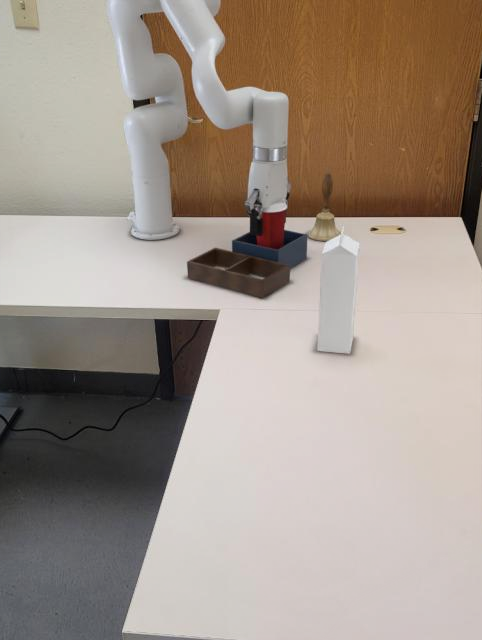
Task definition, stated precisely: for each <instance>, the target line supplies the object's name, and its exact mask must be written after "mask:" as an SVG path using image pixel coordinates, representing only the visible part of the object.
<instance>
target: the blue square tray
mask: <svg viewBox="0 0 482 640" xmlns="http://www.w3.org/2000/svg"><path fill="white" fill-rule="evenodd" d="M308 237H309V236H308V233H301V232H298V231H297V232H296V231H293V230H289V229H284V241H283V247H282V248H280V249H278V250H276V249H272V248H267V247H263V246H258V245H257V235H253V234H250V231H248V232H246V233H244V234H242V235H240V236H238V237H236V238H234V239H232V240H231V251H232V252H237V253H241V254H245V255H249V256H254V257H258V258H262V259H266V260H271V261H275V262H279V263H284V264H288V265H290V270H291V269H292V268H294V267H296V266H297V265H298V264H300V263H302V262H304V261H305V260H308V259H307V258H308Z"/></svg>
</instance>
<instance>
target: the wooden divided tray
mask: <svg viewBox="0 0 482 640" xmlns="http://www.w3.org/2000/svg"><path fill="white" fill-rule="evenodd" d="M215 266H219V267H222V268H219V267H215ZM186 268H187V269H186V270H187V279H189V280H194V281H197V282H200V283H205V284H208V285H212V286H215V287H219V288H222V289H227V290H231V291H234V292H238V293H242V294H245V295H249V296H252V297H256V298H259V299H260V298H261V299H265V298H266V297H268V296H269V295H271V294H273V293H275V292H276V291H277V290H279V289H282V287H284V286H286V285H287V284H289V283H290V281H291V280H290V279H291V269H290V265H288V264H284V263H279V262H275V261H271V260H266V259H262V258H258V257H254V256H249V255H245V254H241V253H237V252H232V250H227V249H223V248H219V247H213V248H211V249H209V250H207V251H205V252H202V253H201V254H199V255H196V256H195V257H193V258H191V259H189V260H188V261H186ZM223 268H225V269H223ZM250 275H251V276H250ZM252 275H254V276H259V277H263V278H258V277H254V276H252Z"/></svg>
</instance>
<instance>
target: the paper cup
mask: <svg viewBox="0 0 482 640" xmlns="http://www.w3.org/2000/svg"><path fill="white" fill-rule="evenodd" d="M257 204H261V203H257ZM261 205H262V204H261ZM287 209H288V205H286V203H285V200H284V199H283V200H281V201H279V202H276V203H274V204H272V205H270V206H269V207H268V208H266V209H264V212H263V214H262V217H261V218H263V235H262V236H258V235H257V245H258V246H263V247H267V248H272V249H276V250H278V249H280V248H282V247H283V241H284V230H285V228H286V227H285V226H286V223H285V214H286V215H287ZM256 211H257V212H258V211H259V208H256Z"/></svg>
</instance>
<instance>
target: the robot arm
mask: <svg viewBox="0 0 482 640" xmlns="http://www.w3.org/2000/svg"><path fill="white" fill-rule="evenodd" d="M221 1H222V0H105V9H106V14H107V19H108V22H109V25H110V29H111V31H112V35H113V39H114V45H115V51H116V52H115V53H116V57H117V63H118V68H119V75H120V80H121V84H122V89H123V92H124V93H125V95H126V97H127V98H128V99H131V100H132V101H143V100H148V99H153V98H154V101H155V102H154V103H149V104H145V105H140V106H137V107H135V108H133V109H131V110H130V111H128V113H127V114H126V115H125V117H124V119H123V123H122V131H123V134H124V138H125V142H126V145H127V149H128V154H129V160H130V161H129V162H130V171H131V178H132V179H131V180H132V189H133V201H134V210H135V211H134V210H132V211H130V212H129V215H127V216H126V220H127V221H129V222H133V226H132V227H131V229H130V232H131V233H130V234H131V235H132V236H133V237H135V238H136V239H140V240H145V241H146V240H147V241H156V240H164V239H169V238H172V237H174V236H176V235H177V234H178V233H179V232H180V227H179V224H177V223H176V222H174V220H173V203H172V189H171V174H170V164H169V159H168V156H167V155H166V153H165V152H164V149H163V147H162V145H163V144H166V143H170V142H172V141H176V140H179V139H180V138H181V137H183V136H184V135H185V133H186V132H187V131H188V130H187V129H188V126H189V125H188V123H189V116H188V107H187V100H186V99H187V98H186V93H185V85H184V78H183V73H182V70H181V67H180V65H179V63H178V62H177V60H176V59H175V58H174V57H173V56H172V55H170V54H168V53H165V52H164V53H163V52H159V53H154V49H153V48H154V47H153V42H152V36H151V33H150V30H149V28H148V25H146V22H145V21H144V20H143V19H142V17H141V16H142V15H144V14H145V15H146V14H155V13H164V14H165V17H166V18H167V20H168V22H169V24H170V25H171V26H172V28H173V30H174V32H175V33H176V35H177V37H178V38H179V40H180V42H181V44H182V45H183V47H184V49H185V51H186V52H187V54H188V55H189V57H190V59H191V62H192V63H191V81H192V82H191V83H192V88H193V91H194V95H195V98H196V99H197V101H198V103H199V105H200V106H201V108H202V110H203V111H204V113H205V115H206V116H207V118H208V119H209V121H211V123H212V124H213V125H215V126H216V128H219V129H221V130H232V129H235V128H239V127H242V126H246V125H250V124H252V161H251V163H250V167H249V173H248V184H247V199H246V200H245V201H244V206H245V209H246V213H247V216H248V218H249V232H250V234H253V235H258V236H262V235H263V218H261V217H262V214H263V212H264V209H266V208H268V207H269V206H270V205H272V204H274V203H276V202H279V201H281V200H283V199H284V200H285V203H286V205H287V206H288V205H289V202H288V200H289V198H290V192H291V188H292V183H290V182H289V181H288V179H289V178H288V177H289V176H288V161H287V160H288V137H289V110H290V109H289V107H290V101H289V98H288V95H287V94H286V93H284V92H280V91H267V90H264V89H262V88H259V87H256V86H243V87H238V88H235V89H234V88H233V89H229V90H226V88H225V86H224V85H223V83H222V81H221V79H220V77H219V75H218V72H217V69H216V57H217V56H218V55H219V54H220V53H221V52H222V50H223V49H224V47H225V45H226V37H225V34H224V33H223V31H222V30H221V28H220V26H219V24H218V23H217V21H216V19H215V18H214V17H216V16H217V15H218V14H219V11H220V8H221V3H222V2H221ZM257 203H261V204H262V205H261V204H257ZM256 208H259V211H258V212H257V211H256ZM286 223H287V213H286V214H285V224H286Z"/></svg>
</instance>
